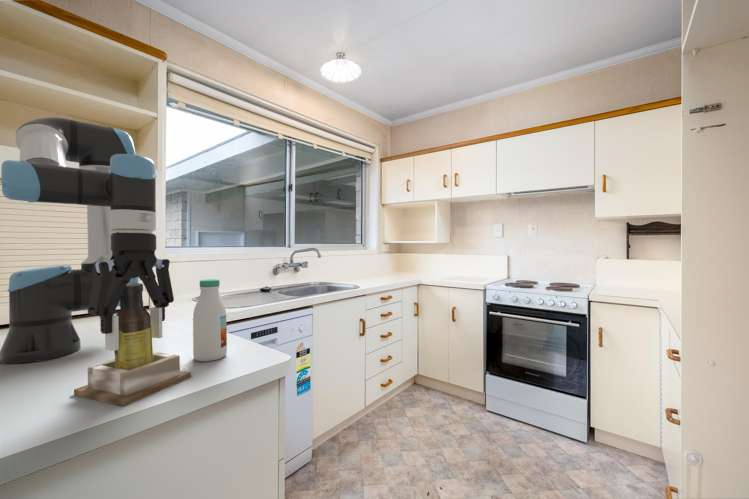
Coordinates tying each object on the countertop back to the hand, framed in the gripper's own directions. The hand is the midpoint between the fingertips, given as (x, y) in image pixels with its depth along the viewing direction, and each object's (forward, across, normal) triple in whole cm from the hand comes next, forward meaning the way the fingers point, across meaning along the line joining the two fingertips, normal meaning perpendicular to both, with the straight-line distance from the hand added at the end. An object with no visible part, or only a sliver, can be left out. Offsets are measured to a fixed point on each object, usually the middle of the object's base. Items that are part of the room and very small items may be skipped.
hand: (135, 342), depth 67 cm
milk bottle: (+9, +18, 0) cm, 20 cm away
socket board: (+9, 0, 0) cm, 9 cm away
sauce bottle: (+8, 0, 0) cm, 8 cm away
